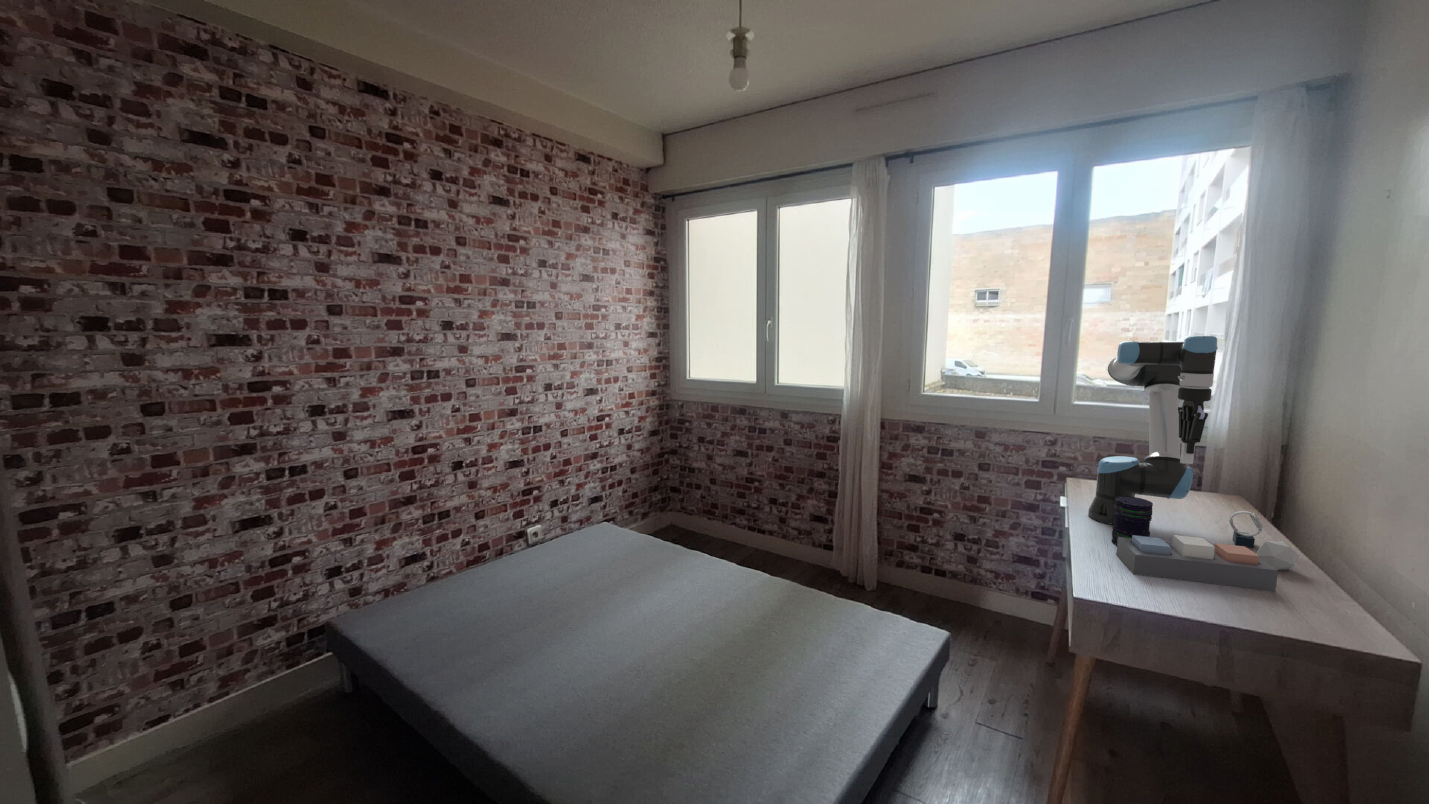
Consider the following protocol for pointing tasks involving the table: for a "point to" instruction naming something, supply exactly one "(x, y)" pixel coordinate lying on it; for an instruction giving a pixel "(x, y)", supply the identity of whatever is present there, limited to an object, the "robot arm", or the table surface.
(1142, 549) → the slate blue key
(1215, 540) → the table surface
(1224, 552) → the terracotta key
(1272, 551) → the die
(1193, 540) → the white key
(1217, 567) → the keypad housing
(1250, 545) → the watch
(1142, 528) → the storage jar
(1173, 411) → the robot arm
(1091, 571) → the table surface
